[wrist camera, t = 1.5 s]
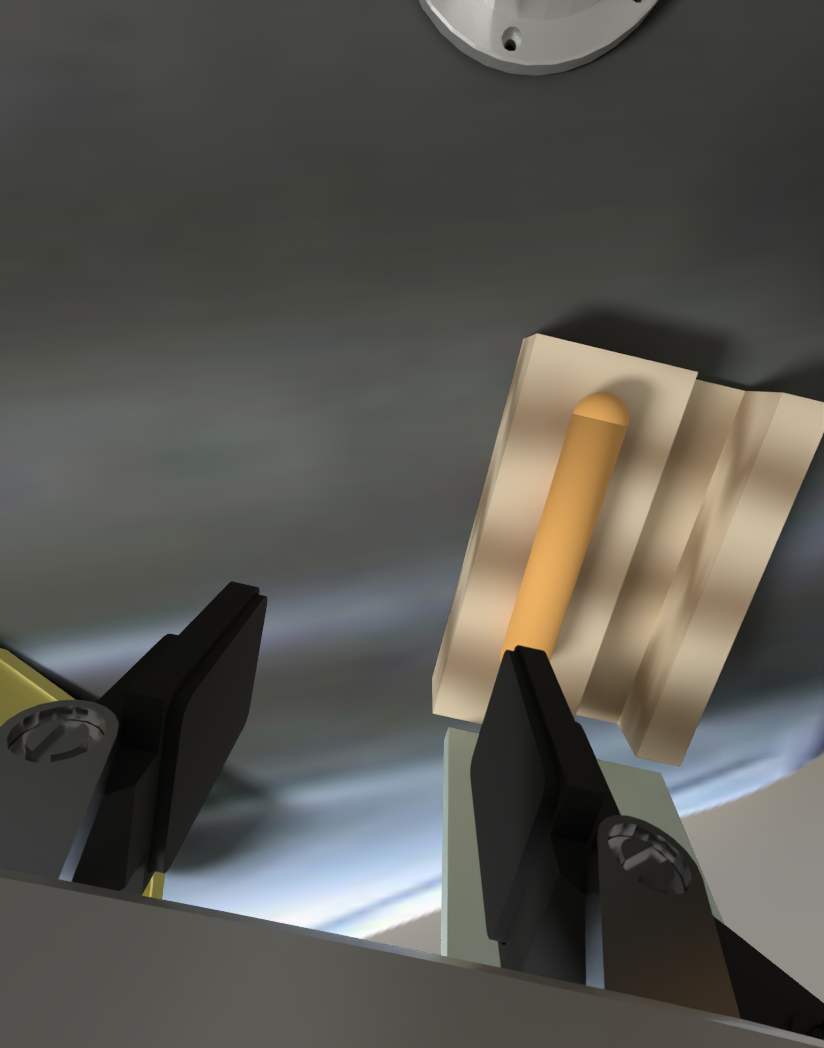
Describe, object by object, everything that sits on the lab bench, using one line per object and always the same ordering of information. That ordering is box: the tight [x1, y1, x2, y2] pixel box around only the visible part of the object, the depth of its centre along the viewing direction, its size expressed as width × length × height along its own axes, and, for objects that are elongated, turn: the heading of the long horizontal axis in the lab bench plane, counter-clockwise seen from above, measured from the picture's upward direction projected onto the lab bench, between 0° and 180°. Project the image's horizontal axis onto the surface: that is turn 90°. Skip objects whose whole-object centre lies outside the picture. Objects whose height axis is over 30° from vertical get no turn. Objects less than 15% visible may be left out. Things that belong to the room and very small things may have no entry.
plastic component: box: [0, 648, 165, 899], centre depth 33 cm, size 20×7×10 cm
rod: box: [500, 392, 629, 661], centre depth 25 cm, size 14×2×2 cm, turn 167°
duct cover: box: [441, 728, 724, 968], centre depth 21 cm, size 18×12×1 cm
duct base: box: [432, 334, 824, 767], centre depth 28 cm, size 20×14×4 cm
